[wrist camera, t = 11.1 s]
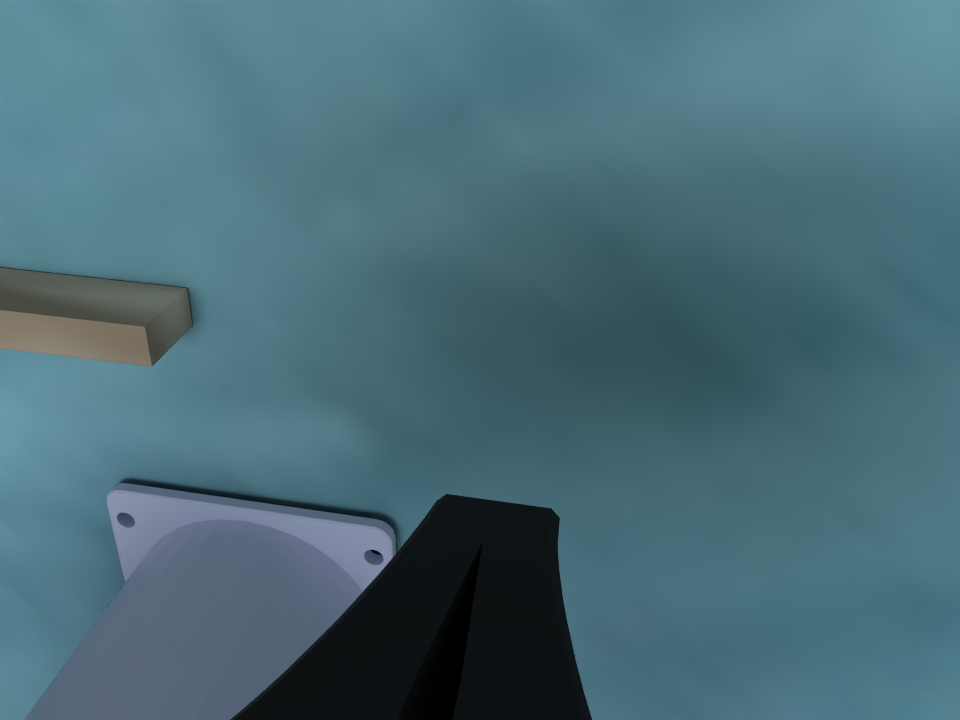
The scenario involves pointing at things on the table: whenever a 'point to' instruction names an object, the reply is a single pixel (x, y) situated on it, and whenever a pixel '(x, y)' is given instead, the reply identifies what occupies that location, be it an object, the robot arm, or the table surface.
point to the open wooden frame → (90, 316)
